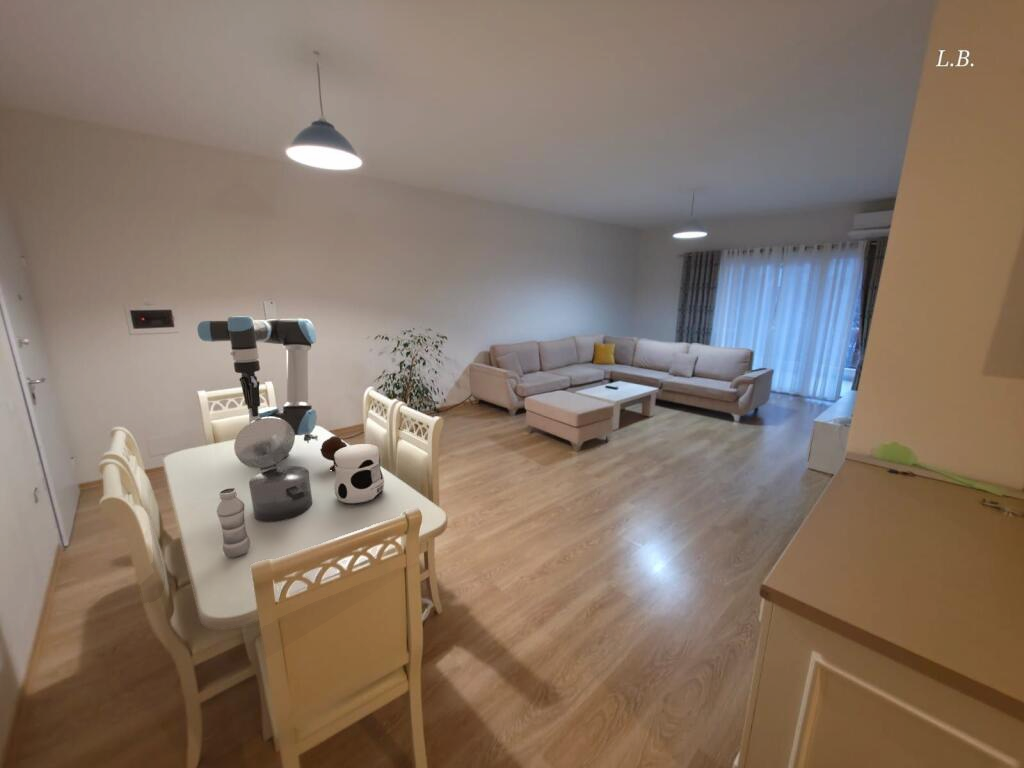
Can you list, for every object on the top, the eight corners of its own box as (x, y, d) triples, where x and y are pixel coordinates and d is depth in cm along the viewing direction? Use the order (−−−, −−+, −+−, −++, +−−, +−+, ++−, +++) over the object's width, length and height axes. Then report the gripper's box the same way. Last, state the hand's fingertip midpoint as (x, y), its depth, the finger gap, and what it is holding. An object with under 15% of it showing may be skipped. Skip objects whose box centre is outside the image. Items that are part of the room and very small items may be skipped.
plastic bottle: (232, 547, 120) (221, 486, 116) (256, 546, 121) (246, 485, 116) (219, 561, 114) (207, 497, 110) (244, 560, 115) (233, 496, 110)
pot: (246, 509, 141) (241, 478, 139) (299, 490, 155) (295, 461, 152) (272, 535, 126) (267, 500, 124) (329, 512, 140) (325, 480, 137)
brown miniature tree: (354, 463, 179) (351, 431, 176) (341, 474, 169) (337, 440, 165) (331, 462, 180) (328, 431, 177) (317, 473, 170) (313, 440, 166)
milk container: (335, 490, 155) (331, 446, 151) (382, 482, 162) (379, 440, 158) (335, 512, 139) (330, 464, 135) (387, 502, 146) (384, 456, 142)
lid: (238, 478, 139) (234, 473, 141) (296, 460, 153) (291, 456, 156) (233, 425, 132) (228, 421, 135) (293, 412, 147) (288, 409, 149)
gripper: (228, 359, 143) (237, 423, 148) (239, 363, 135) (250, 430, 140) (251, 357, 149) (260, 418, 154) (264, 361, 140) (273, 425, 145)
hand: (255, 424), depth 147 cm, fingers closed
